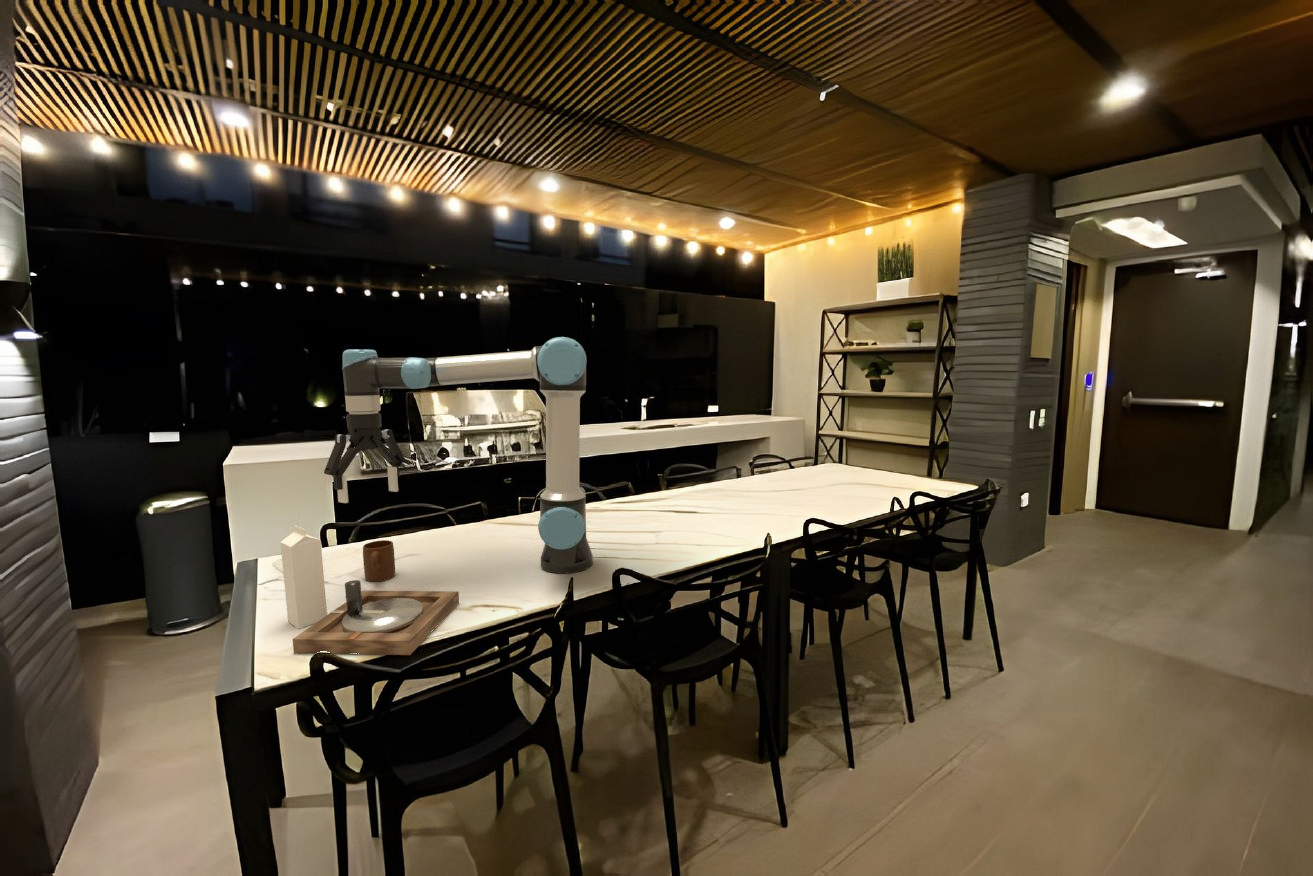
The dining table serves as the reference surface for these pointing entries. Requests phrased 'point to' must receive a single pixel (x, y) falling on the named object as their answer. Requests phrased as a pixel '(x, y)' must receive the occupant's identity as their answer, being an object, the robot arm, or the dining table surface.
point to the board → (398, 642)
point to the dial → (377, 612)
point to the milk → (303, 578)
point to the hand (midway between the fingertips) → (369, 496)
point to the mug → (379, 560)
